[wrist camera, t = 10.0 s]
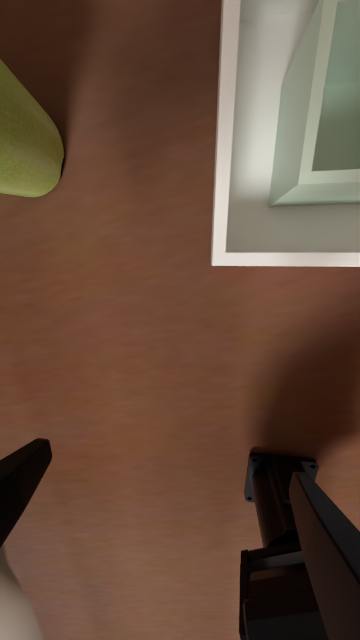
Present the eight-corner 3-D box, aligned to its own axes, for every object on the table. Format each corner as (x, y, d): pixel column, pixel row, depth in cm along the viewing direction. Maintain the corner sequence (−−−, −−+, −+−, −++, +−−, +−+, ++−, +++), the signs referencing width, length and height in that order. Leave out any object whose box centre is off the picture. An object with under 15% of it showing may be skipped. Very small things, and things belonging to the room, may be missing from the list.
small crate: (372, 203, 14) (458, 177, 9) (268, 206, 15) (298, 184, 10) (403, 74, 12) (532, -45, 7) (281, 85, 13) (325, -15, 8)
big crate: (407, 263, 15) (498, 267, 10) (210, 262, 17) (211, 265, 12) (494, -16, 11) (711, -220, 6) (220, 18, 13) (229, -123, 8)
